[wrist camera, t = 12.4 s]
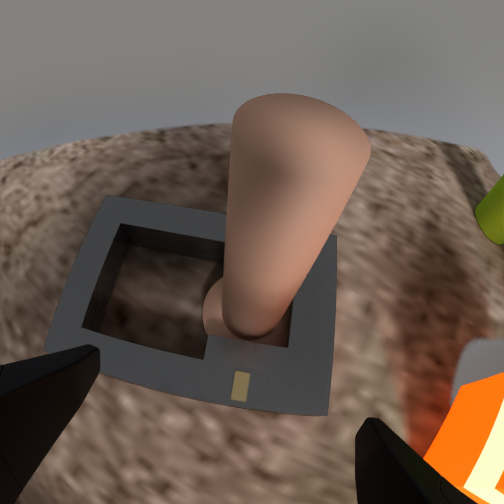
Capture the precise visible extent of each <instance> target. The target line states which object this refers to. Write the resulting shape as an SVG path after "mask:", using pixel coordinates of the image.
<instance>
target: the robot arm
mask: <svg viewBox="0 0 504 504" xmlns="http://www.w3.org/2000/svg"><path fill="white" fill-rule="evenodd" d="M99 372H100V349H99V348H98V347H95V346H93V345H91V344H86V345H82V346H78V347H74V348H71V349H67V350H63V351H59V352H55V353H51V354H47V355H43V356H38V357H34V358H30V359H26V360H21V361H17V362H13V363H8V364H5V365H0V504H14V503H15V502H16V500H17V498H18V497H19V495H20V494H21V492H22V490H23V489H24V487H25V486H26V484H27V483H28V481H29V480H30V478H31V477H32V475H33V474H34V472H35V471H36V469H37V468H38V466H39V465H40V463H41V462H42V460H43V459H44V457H45V456H46V454H47V453H48V452H49V450H50V449H51V447H52V446H53V444H54V443H55V441H56V440H57V439H58V437H59V436H60V434H61V433H62V432H63V430H64V429H65V427H66V426H67V424H68V423H69V422H70V420H71V419H72V418H73V416H74V415H75V413H76V412H77V411H78V409H79V408H80V406H81V405H82V403H83V401H84V399H85V398H86V396H87V394H88V392H89V390H90V389H91V387H92V385H93V383H94V381H95V380H96V378H97V376H98V374H99ZM355 481H356V491H357V502H358V504H478V503H477V502H475V501H474V500H472V499H471V498H470V497H468V496H467V495H465V494H464V493H463V492H461V491H460V490H459V489H457V488H456V487H455V486H454V485H452V484H451V483H450V482H449V481H448V480H447V479H445V478H444V477H443V476H441V474H440V473H439V472H437V471H436V470H435V469H434V468H433V467H432V466H431V465H430V464H428V463H427V462H426V461H425V460H424V459H423V458H422V457H421V456H420V455H418V454H417V453H416V452H415V451H414V450H413V449H412V448H411V447H410V446H409V445H407V444H406V443H405V442H404V441H403V440H402V439H401V438H400V437H399V436H398V435H397V434H395V433H394V432H393V431H392V430H391V429H390V428H389V427H388V426H387V425H386V424H385V423H384V422H383V421H382V420H380V419H379V418H373V417H369V418H367V419H366V420H365V421H364V423H363V424H362V426H361V428H360V429H359V431H358V432H357V434H356V437H355Z"/></svg>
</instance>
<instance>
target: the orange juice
mask: <svg viewBox="0 0 504 504" xmlns="http://www.w3.org/2000/svg"><path fill="white" fill-rule="evenodd" d="M423 459H424V460H425V461H426V462H427V463H428V464H430V465H431V466H432V467H433V468H434V469H435V470H436V471H437V472H439V473H440V474H441V476H443V477H444V478H445V479H447V480H448V481H449V482H450V483H451V484H452V485H454V486H455V487H456V488H457V489H459V490H460V491H461V492H463V493H464V494H465V495H467V496H468V497H470V498H471V499H472V500H474V501H475V502H477V503H478V504H504V372H503V373H500V374H497V375H495V376H492V377H489V378H486V379H483V380H479V381H476V382H473V383H470V384H466V385H463V386H461V388H460V390H459V392H458V394H457V397H456V398H455V401H454V403H453V405H452V407H451V409H450V411H449V413H448V415H447V417H446V419H445V421H444V423H443V425H442V427H441V429H440V430H439V432H438V434H437V436H436V438H435V439H434V441H433V443H432V445H431V446H430V448H429V450H428V451H427V453H426V455H425V456H424V458H423Z"/></svg>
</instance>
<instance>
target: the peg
mask: <svg viewBox="0 0 504 504" xmlns="http://www.w3.org/2000/svg"><path fill="white" fill-rule="evenodd" d="M370 152H371V151H370V144H369V140H368V138H367V136H366V134H365V133H364V131H363V130H362V128H361V127H360V126H359V125H358V124H357V123H356V122H355V121H354V120H353V119H352V118H351V117H350V116H348V115H347V114H346V113H344V112H343V111H341V110H339V109H338V108H336V107H334V106H332V105H330V104H328V103H326V102H323V101H321V100H318V99H315V98H311V97H307V96H302V95H297V94H286V93H280V94H279V93H278V94H268V95H263V96H259V97H256V98H253V99H251V100H249V101H247V102H246V103H244V104H243V105H242V106H241V107H240V108H239V109H238V110H237V112H236V113H235V115H234V118H233V127H232V140H231V154H230V168H229V183H228V199H227V215H226V233H225V253H224V274H223V277H222V278H221V279H219V280H218V281H217V282H216V283H215V284H214V285H213V286H212V287H211V289H210V290H209V292H208V293H207V295H206V298H205V301H204V305H203V323H204V328H205V332H206V335H207V337H208V335H214V336H220V337H225V338H230V339H236V340H241V341H247V342H253V343H259V344H265V345H272V346H278V347H285V346H286V341H287V332H288V324H289V315H290V305H291V301H292V300H293V298H294V296H295V295H296V293H297V291H298V290H299V288H300V286H301V284H302V283H303V281H304V279H305V278H306V276H307V274H308V272H309V271H310V269H311V267H312V265H313V264H314V262H315V260H316V258H317V257H318V255H319V253H320V251H321V249H322V248H323V246H324V244H325V242H326V240H327V239H328V237H329V235H330V233H331V231H332V229H333V228H334V226H335V224H336V222H337V220H338V218H339V217H340V215H341V213H342V211H343V209H344V207H345V205H346V203H347V201H348V200H349V198H350V196H351V194H352V192H353V190H354V188H355V186H356V184H357V182H358V180H359V178H360V176H361V174H362V172H363V170H364V168H365V166H366V164H367V162H368V160H369V158H370Z"/></svg>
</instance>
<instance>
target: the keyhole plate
mask: <svg viewBox="0 0 504 504" xmlns="http://www.w3.org/2000/svg"><path fill="white" fill-rule="evenodd" d="M226 215H227V214H222V213H216V212H210V211H205V210H199V209H193V208H187V207H181V206H175V205H168V204H162V203H156V202H149V201H143V200H136V199H130V198H123V197H116V196H109V195H106V197H105V199H104V201H103V202H102V204H101V206H100V208H99V210H98V212H97V214H96V216H95V218H94V220H93V222H92V224H91V226H90V229H89V231H88V233H87V235H86V237H85V239H84V241H83V244H82V246H81V248H80V250H79V253H78V255H77V257H76V260H75V262H74V264H73V267H72V269H71V271H70V274H69V276H68V279H67V281H66V284H65V287H64V289H63V292H62V295H61V297H60V300H59V303H58V306H57V308H56V311H55V314H54V317H53V320H52V323H51V326H50V329H49V332H48V336H47V339H46V342H45V346H44V349H43V350H44V351H46V352H48V353H50V354H51V353H55V352H59V351H63V350H67V349H71V348H74V347H78V346H82V345H86V344H91V345H93V346H95V347H98V348H99V349H100V372H99V373H100V374H103V375H106V376H109V377H112V378H115V379H118V380H121V381H125V382H128V383H131V384H135V385H138V386H142V387H145V388H149V389H153V390H156V391H160V392H164V393H168V394H172V395H176V396H181V397H185V398H189V399H194V400H199V401H204V402H209V403H214V404H219V405H225V406H231V407H237V408H243V409H250V410H257V411H264V412H272V413H281V414H291V415H302V416H327V415H328V406H329V397H330V386H331V375H332V363H333V350H334V334H335V314H336V283H337V235H332V234H330V235H329V237H328V239H327V240H326V242H325V244H324V246H323V248H322V249H321V251H320V253H319V255H318V257H317V258H316V260H315V262H314V264H313V265H312V267H311V269H310V271H309V272H308V274H307V276H306V278H305V279H304V281H303V283H302V284H301V286H300V288H299V290H298V291H297V293H296V295H295V296H294V298H293V300H292V301H291V305H290V315H289V324H288V332H287V341H286V348H285V347H278V346H272V345H265V344H259V343H253V342H247V341H241V340H236V339H230V338H225V337H220V336H214V335H208V340H207V345H206V350H205V355H204V360H201V359H196V358H192V357H187V356H183V355H178V354H174V353H170V352H166V351H161V350H157V349H153V348H150V347H146V346H142V345H138V344H134V343H131V342H127V341H124V340H120V339H117V338H113V337H110V336H107V335H103V334H100V333H99V331H100V328H101V324H102V321H103V318H104V315H105V312H106V309H107V306H108V303H109V300H110V297H111V294H112V291H113V288H114V285H115V282H116V279H117V276H118V274H119V271H120V268H121V266H122V263H123V260H124V258H125V255H126V252H127V250H128V247H129V245H134V246H139V247H144V248H149V249H154V250H159V251H164V252H169V253H175V254H180V255H185V256H190V257H196V258H201V259H206V260H211V261H217V262H222V263H224V253H225V233H226Z"/></svg>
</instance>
